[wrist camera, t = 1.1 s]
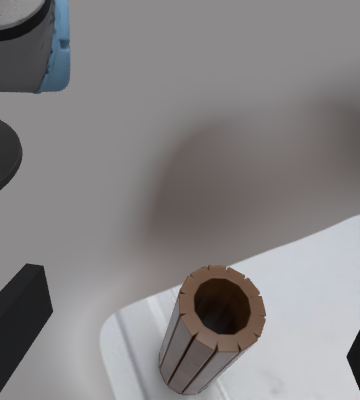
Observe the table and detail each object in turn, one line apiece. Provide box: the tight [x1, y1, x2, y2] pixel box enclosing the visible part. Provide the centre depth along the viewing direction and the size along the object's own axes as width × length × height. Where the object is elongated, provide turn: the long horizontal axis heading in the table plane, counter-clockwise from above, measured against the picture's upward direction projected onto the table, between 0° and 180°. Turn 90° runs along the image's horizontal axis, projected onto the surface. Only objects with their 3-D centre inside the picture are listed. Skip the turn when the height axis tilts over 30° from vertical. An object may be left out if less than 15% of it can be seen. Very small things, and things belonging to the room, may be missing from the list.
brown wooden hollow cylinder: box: [159, 265, 266, 395], centre depth 24 cm, size 6×6×14 cm
